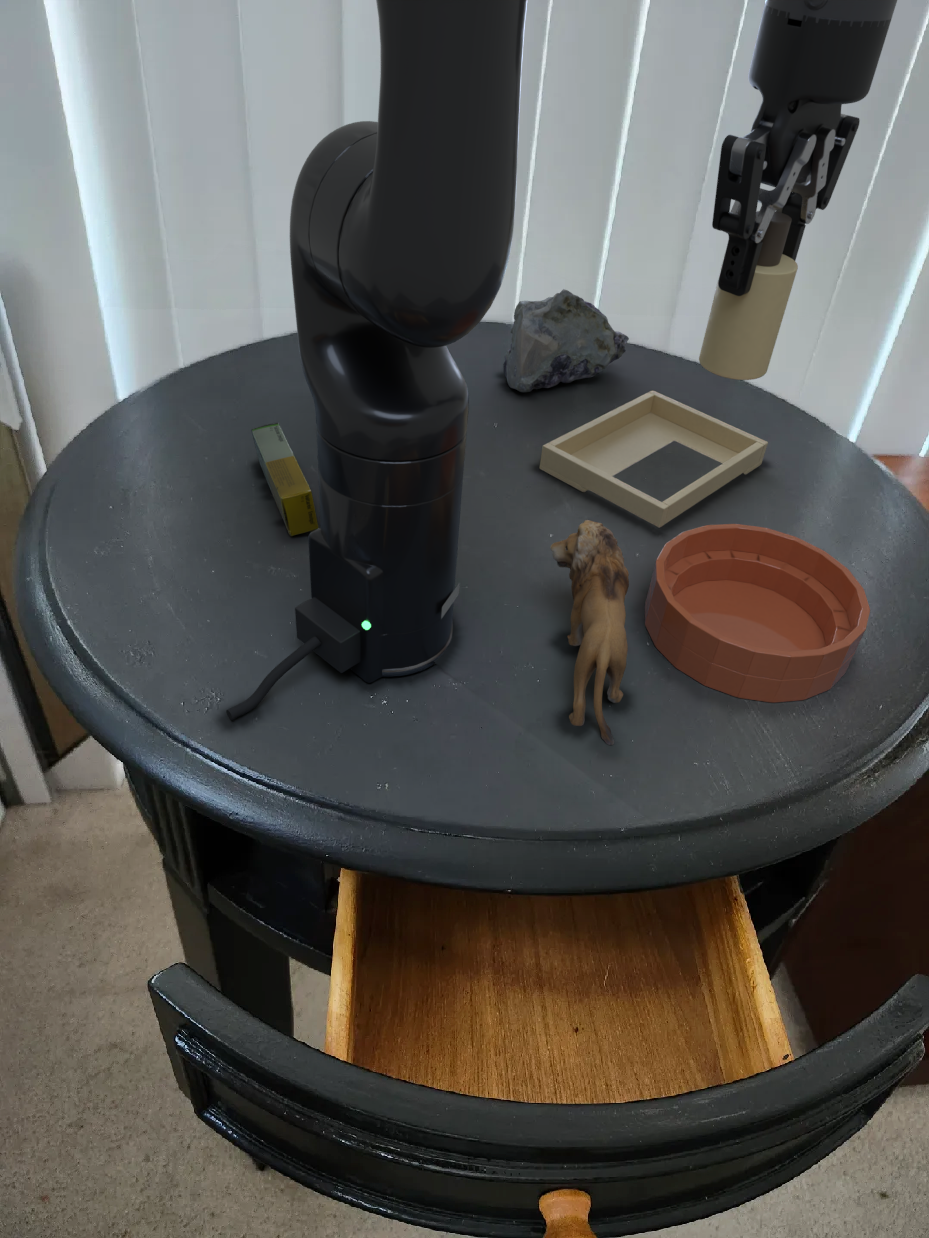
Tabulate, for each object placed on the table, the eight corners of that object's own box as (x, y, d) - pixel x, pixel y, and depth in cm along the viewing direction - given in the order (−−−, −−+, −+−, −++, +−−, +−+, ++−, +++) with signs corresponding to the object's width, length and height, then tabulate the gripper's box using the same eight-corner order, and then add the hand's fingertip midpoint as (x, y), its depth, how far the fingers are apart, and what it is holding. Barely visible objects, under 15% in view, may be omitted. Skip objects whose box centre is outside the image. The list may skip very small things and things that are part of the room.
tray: (658, 533, 80) (664, 509, 78) (539, 468, 87) (542, 445, 85) (761, 464, 90) (768, 442, 88) (647, 411, 97) (652, 389, 95)
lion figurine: (536, 607, 71) (551, 509, 65) (604, 606, 72) (625, 509, 66) (572, 752, 60) (594, 650, 54) (651, 749, 61) (681, 649, 55)
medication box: (257, 465, 84) (249, 426, 81) (286, 459, 84) (279, 420, 82) (288, 538, 75) (280, 497, 73) (320, 530, 76) (313, 489, 73)
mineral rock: (622, 367, 104) (639, 279, 98) (619, 412, 96) (638, 319, 90) (509, 353, 105) (518, 264, 99) (497, 395, 97) (506, 302, 91)
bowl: (781, 742, 62) (804, 689, 59) (603, 629, 70) (614, 578, 66) (880, 640, 71) (904, 590, 68) (711, 551, 78) (726, 501, 75)
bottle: (743, 387, 68) (786, 234, 61) (685, 362, 71) (720, 213, 64) (779, 367, 71) (825, 219, 64) (722, 344, 74) (760, 199, 67)
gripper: (830, -11, 62) (761, 247, 73) (711, 0, 54) (653, 289, 65) (938, 7, 58) (848, 276, 69) (827, 22, 50) (745, 325, 61)
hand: (754, 281), depth 67 cm, fingers closed on bottle, 5 cm apart
